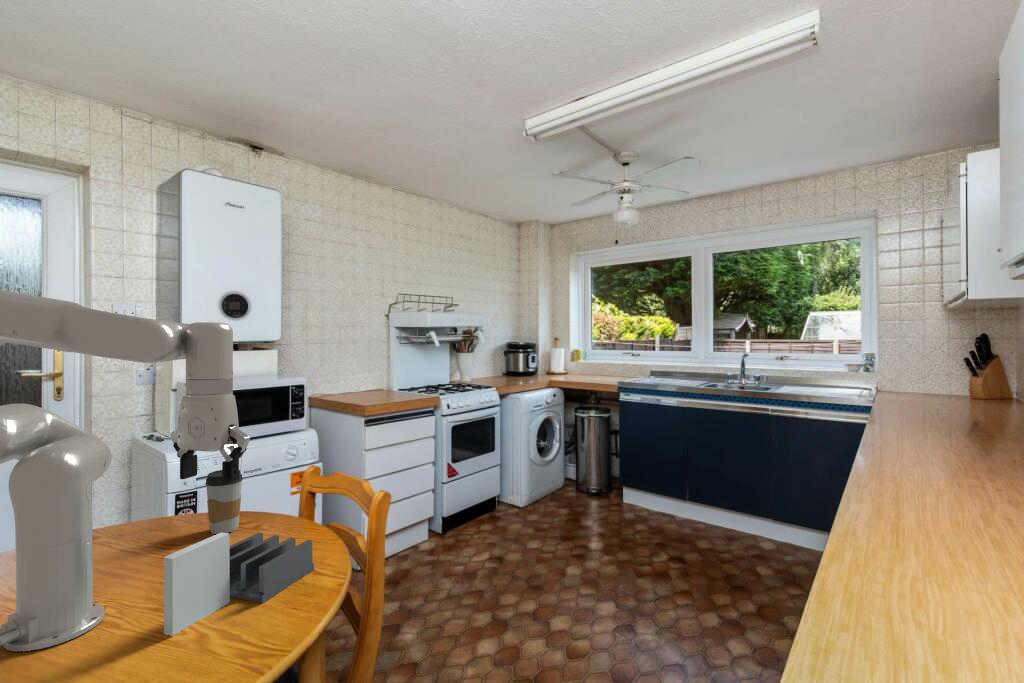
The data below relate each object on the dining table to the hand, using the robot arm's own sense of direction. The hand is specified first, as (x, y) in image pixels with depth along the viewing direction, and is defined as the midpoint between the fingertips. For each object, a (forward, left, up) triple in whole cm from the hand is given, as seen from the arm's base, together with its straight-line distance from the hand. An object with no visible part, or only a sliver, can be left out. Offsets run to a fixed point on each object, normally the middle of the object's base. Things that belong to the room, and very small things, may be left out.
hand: (209, 479), depth 91 cm
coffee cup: (+28, +28, -23) cm, 46 cm away
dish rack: (+10, -2, -23) cm, 25 cm away
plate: (-4, -2, -23) cm, 24 cm away
